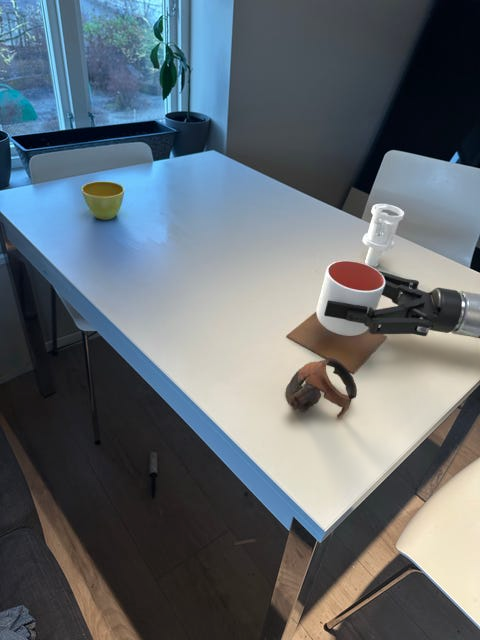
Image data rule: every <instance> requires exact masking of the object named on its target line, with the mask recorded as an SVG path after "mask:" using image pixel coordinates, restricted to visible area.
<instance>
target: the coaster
mask: <svg viewBox="0 0 480 640" xmlns="http://www.w3.org/2000/svg"><path fill="white" fill-rule="evenodd" d="M285 338H287V339H289V340H290V341H292V342H294V343H296V344H298V345H300V346H301V347H303V348H305V349H307V350H308V351H310V352H312V353H314V354H316V355H318V356H320V357H321V358H323V359H324V360H325V359H326V358H333V359H336V360H338V361H339V362H340V363H342V364H343V365H344V366H345V367H346V368H347V369H348V371H349V372H350V374H351V375H355V374H356V373H357V371H358V370H359V369H360V368H361V367H362V366H363V365H364V364H365V363H366V361H368V359H369V358H370V357H371V356H372V355H373V353H375V351H376V350H377V349H378V348H379V347H380V346H381V345H382V344H383V343H384V342H385V341H386V339H387V338H388V336H387V334H371V333H370V332H369V329H368V330H367V331H365V332H364V333H362V334H359V335H354V336H346V335H340V334H337V333H334V332H332V331H330V330H328V329H327V328H325V327H324V326H323V325H322V324H321V323H320V322H319V320H318V318H317V314H316V311H315V312H314V313H312V314H311V315H310V316H309V317H308V318H306V319H305V320H304V321H303V322H301V323H300V324H298V326H296V327H295V328H293V329H292V330H291V331H289V333H287V334H286V335H285Z"/></svg>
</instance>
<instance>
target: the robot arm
mask: <svg viewBox="0 0 480 640" xmlns="http://www.w3.org/2000/svg"><path fill="white" fill-rule="evenodd" d="M376 270H377V271H379V272H380V273H381V274H382V275H383V277H384V279H385V286H384V289H383V292H382V295H381V296H383V297H385V298H388V299H390V300H391V302H392V303H393V304H394V305H395V306H389V307H383V308H377V309H376V310H373V309H372V308H371V307H370V308H369V311H368V313H367V310H368V309H367V307H365V306H359V305H353V304H347V303H341V302H335V301H330V300H328V301H327V305H326V309H325V313H324V316H328V317H334V318H340V319H346V320H348V321H352V322H358V323H363V324H364V325H365V326H367V327H369V332H370V333H371V334H384V335H417V336H422V337H427V336H428V334H429V332H430V331H433V332H439V333H443V334H449V333H451V334H453V335H458V336H464V337H469V338H476V339H480V293H476V292H470V291H464V290H461V291H458V290H456V289H450V288H444V287H435V288H434V289H432V290H431V291H429V292H427V291H423V290H421V289H419V284H420V281H419V280H417V279H411V278H405V277H401V276H398V275H395V274H391V273H389V272H385V271H381V270H379V269H376Z"/></svg>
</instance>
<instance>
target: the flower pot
mask: <svg viewBox="0 0 480 640" xmlns="http://www.w3.org/2000/svg"><path fill="white" fill-rule="evenodd" d="M81 193H82V196H83V199H84V201H85V203H86V205H87V207H88V209H89V211H90V212H91V213H92V214H93V216H94V217H95V218H96V219H98V220H103V221H106V220H107V221H108V220H113V219H114V218H116V216H117V215H118V213H119V211H120V209H121V206H122V204H123V200H124V195H125V187H124V186H123V185H121V184H119V183H117V182H114V181H107V180H104V181H103V180H99V181H92V182H88V183H86V184H83V186H82V187H81Z"/></svg>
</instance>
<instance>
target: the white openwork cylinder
mask: <svg viewBox="0 0 480 640" xmlns="http://www.w3.org/2000/svg"><path fill="white" fill-rule="evenodd" d="M384 210H385V211H390V212H393V213H395V214H397V215H389V213H387V212H383V211H384ZM370 213H371V214H372V218H371V220H370V224H369V226H368V229H367V230H368V231H367V232H366V233H365V234H364V235H363V237H362V242H363V244H364V245H365V246H367V247H368V250H367V255H366V258H365V261H364V264H366V265H369V266H371V267H373V268H375V267H377V266H378V265H379V262H380V259H381V256H382V253H383V251H390V250H392V249H393V248H394V245H395V240H394V239H395V235H396V232H397V230H398V226H399V225H400V224H399V223H400V221H402V220H403V219H404V216H405V211H404V210H403V209H401V208H400V207H398V206H396V205H394V204H393V205H392V204H389V203H388V204H387V203H376V204H374V205H372V207H371V212H370Z"/></svg>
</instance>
